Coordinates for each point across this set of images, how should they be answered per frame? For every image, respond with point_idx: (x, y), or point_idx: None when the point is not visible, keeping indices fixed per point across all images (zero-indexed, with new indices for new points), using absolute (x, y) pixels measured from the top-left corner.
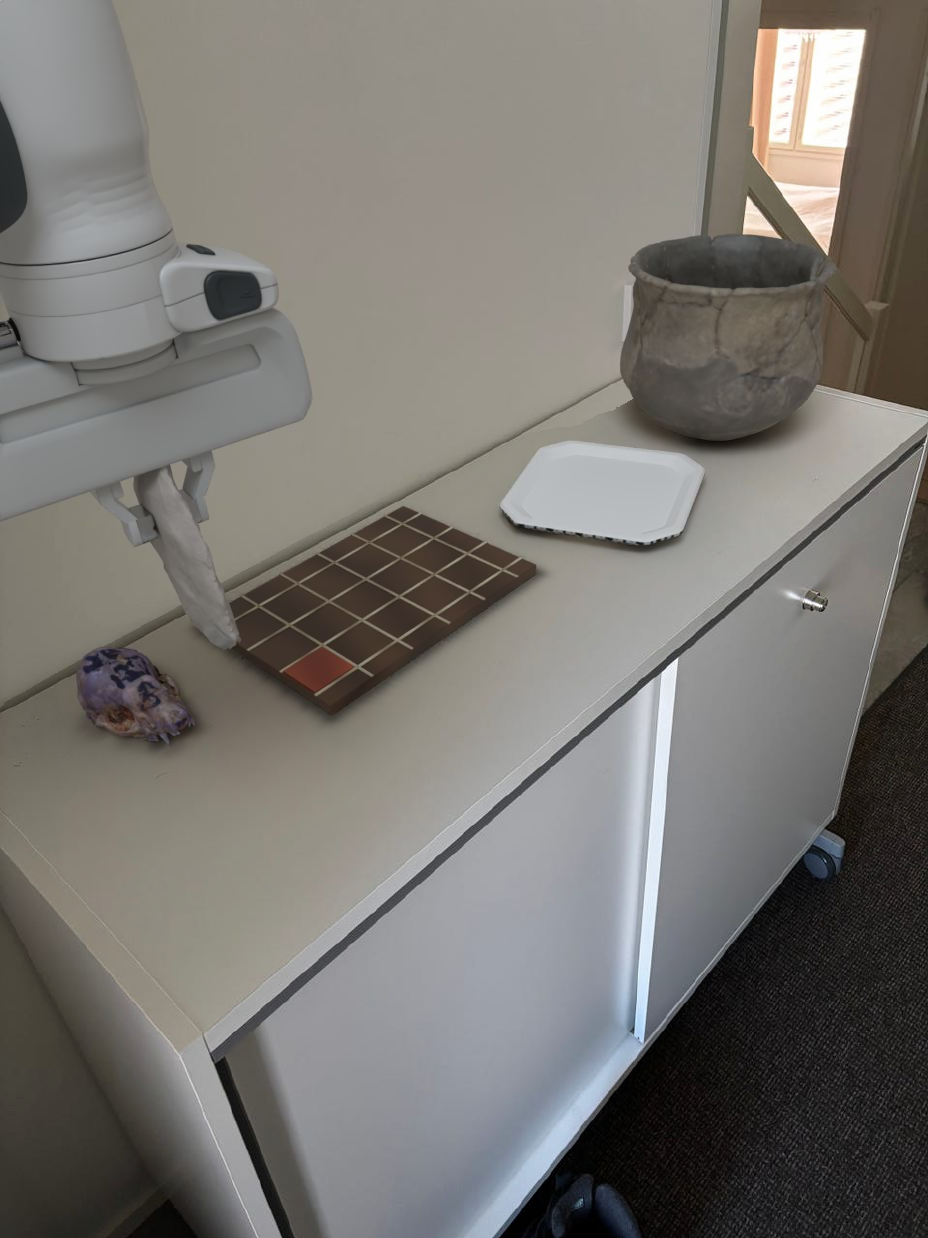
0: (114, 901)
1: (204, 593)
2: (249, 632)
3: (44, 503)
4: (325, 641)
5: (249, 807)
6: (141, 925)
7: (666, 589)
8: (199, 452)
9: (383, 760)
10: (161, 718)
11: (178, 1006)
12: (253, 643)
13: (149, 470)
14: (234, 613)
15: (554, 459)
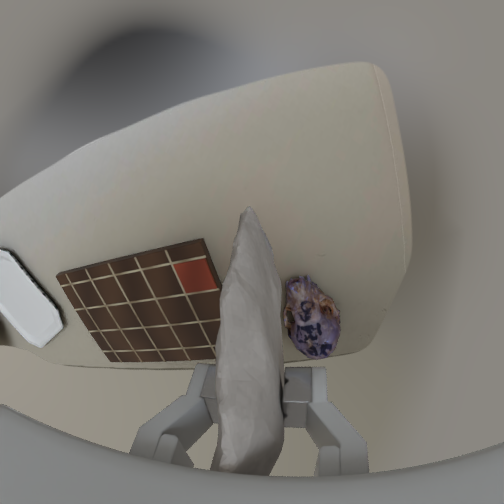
0: (384, 176)
1: (259, 260)
2: None
3: (470, 458)
4: (182, 296)
5: (284, 194)
6: (378, 148)
7: (12, 219)
8: (144, 462)
9: (188, 180)
10: (306, 290)
11: (378, 82)
12: None
13: (255, 477)
14: None
15: (36, 337)
